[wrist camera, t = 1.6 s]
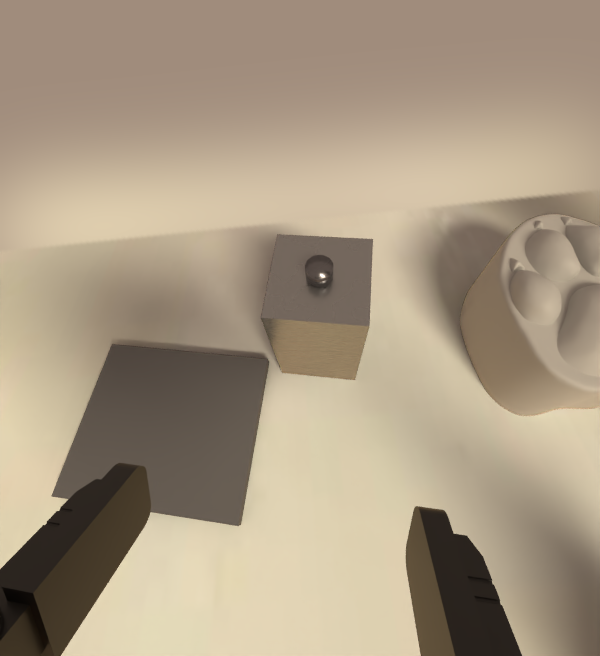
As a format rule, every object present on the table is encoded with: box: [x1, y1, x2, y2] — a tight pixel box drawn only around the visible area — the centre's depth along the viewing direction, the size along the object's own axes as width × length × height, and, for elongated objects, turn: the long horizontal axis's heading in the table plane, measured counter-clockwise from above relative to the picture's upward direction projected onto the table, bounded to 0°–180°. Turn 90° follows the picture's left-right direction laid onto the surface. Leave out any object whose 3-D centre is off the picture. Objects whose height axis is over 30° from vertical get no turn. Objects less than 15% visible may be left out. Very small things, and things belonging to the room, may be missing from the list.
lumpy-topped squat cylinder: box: [460, 214, 600, 416], centre depth 23 cm, size 10×13×9 cm
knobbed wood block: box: [261, 235, 373, 380], centre depth 23 cm, size 6×6×11 cm
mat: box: [52, 344, 269, 526], centre depth 26 cm, size 14×12×1 cm
